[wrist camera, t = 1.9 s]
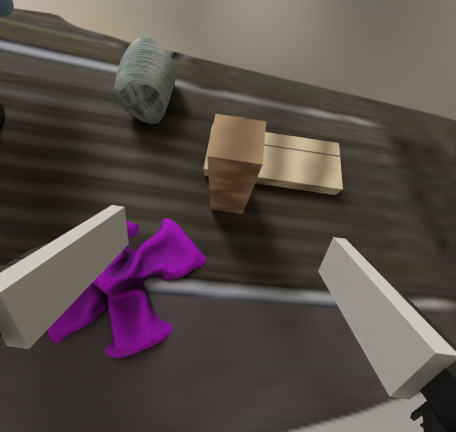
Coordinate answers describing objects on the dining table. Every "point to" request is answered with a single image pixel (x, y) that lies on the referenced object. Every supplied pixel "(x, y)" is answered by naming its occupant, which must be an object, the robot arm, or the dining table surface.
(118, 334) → the cloth
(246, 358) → the dining table surface
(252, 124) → the tan angular block
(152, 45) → the spool
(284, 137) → the board
